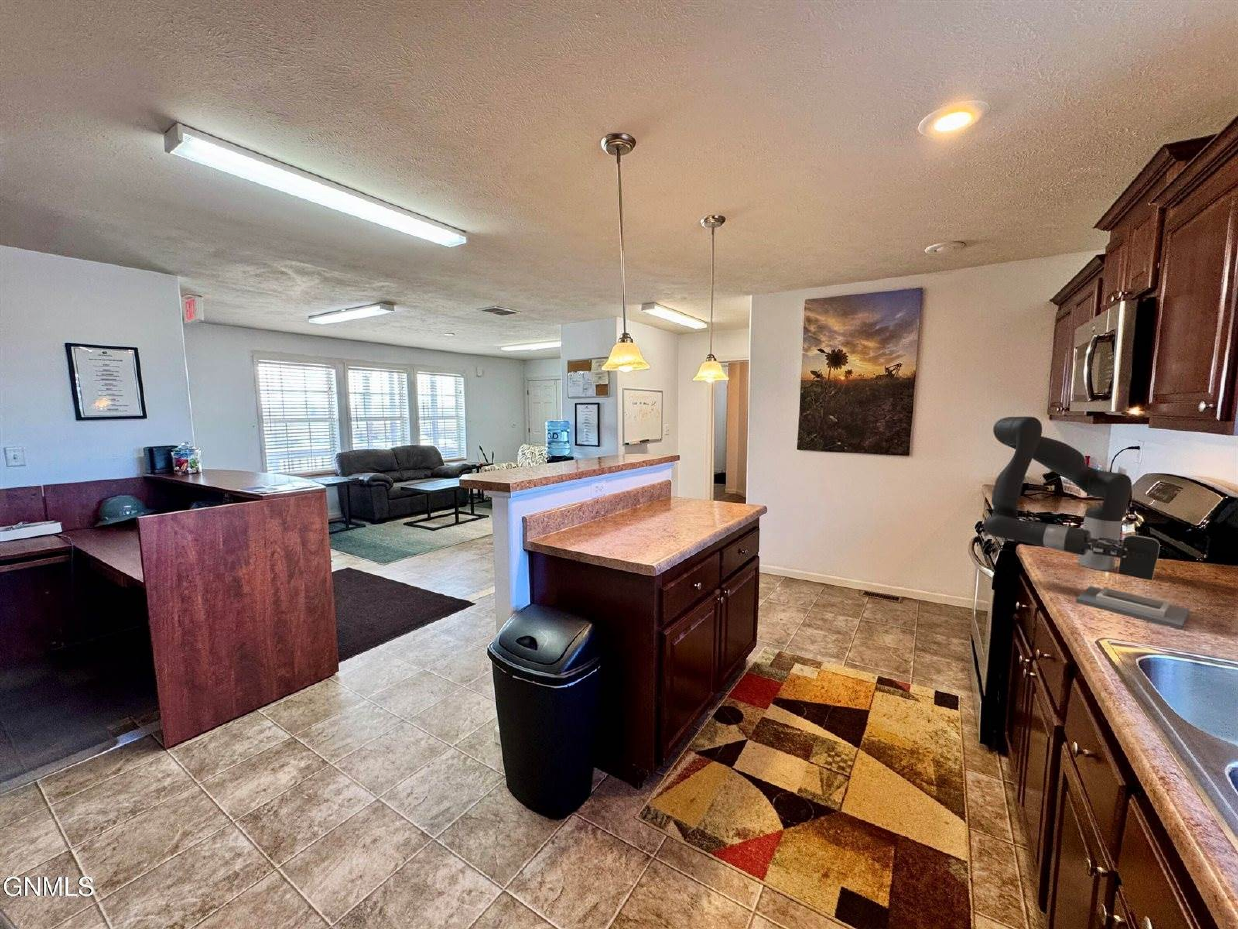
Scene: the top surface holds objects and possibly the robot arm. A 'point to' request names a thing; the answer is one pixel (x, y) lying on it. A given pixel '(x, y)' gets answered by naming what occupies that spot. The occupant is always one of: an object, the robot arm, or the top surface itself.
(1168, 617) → the holder
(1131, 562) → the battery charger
